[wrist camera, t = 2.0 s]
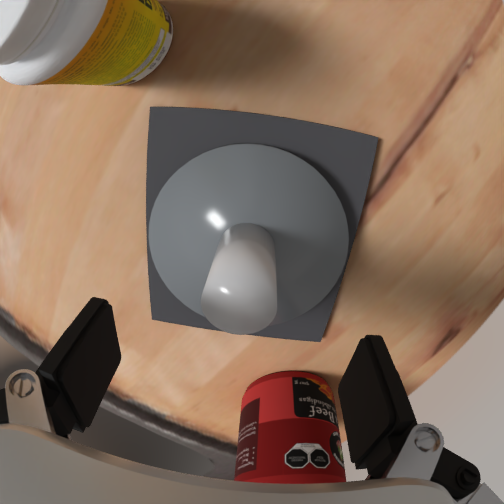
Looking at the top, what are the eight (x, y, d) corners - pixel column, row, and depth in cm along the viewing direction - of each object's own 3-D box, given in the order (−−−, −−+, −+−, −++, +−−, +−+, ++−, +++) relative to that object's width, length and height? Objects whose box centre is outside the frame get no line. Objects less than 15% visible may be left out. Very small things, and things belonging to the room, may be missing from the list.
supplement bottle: (197, 25, 12) (104, -64, 3) (134, 104, 14) (-10, 122, 5) (128, -13, 10) (15, -76, 1) (73, 61, 12) (-64, 61, 3)
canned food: (342, 402, 25) (357, 506, 15) (265, 423, 26) (262, 520, 17) (315, 356, 22) (331, 489, 12) (226, 383, 24) (209, 502, 14)
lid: (157, 134, 14) (100, 152, 9) (364, 162, 14) (414, 194, 9) (157, 303, 19) (126, 369, 14) (319, 325, 19) (331, 396, 14)
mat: (153, 106, 14) (150, 106, 14) (375, 136, 14) (378, 137, 14) (154, 315, 20) (152, 319, 20) (319, 337, 21) (320, 341, 20)
